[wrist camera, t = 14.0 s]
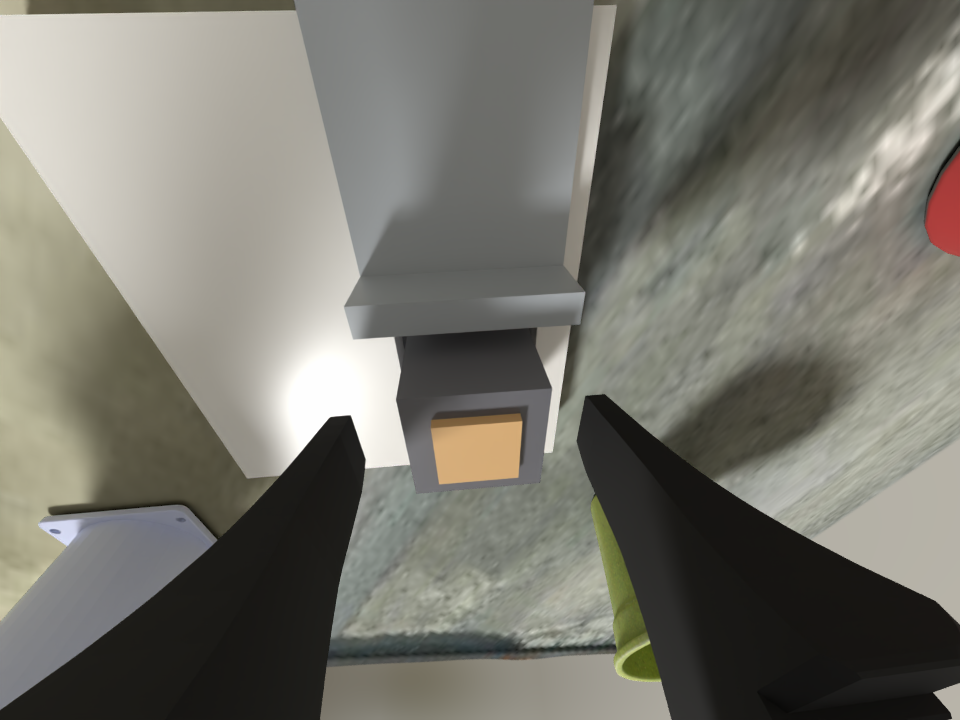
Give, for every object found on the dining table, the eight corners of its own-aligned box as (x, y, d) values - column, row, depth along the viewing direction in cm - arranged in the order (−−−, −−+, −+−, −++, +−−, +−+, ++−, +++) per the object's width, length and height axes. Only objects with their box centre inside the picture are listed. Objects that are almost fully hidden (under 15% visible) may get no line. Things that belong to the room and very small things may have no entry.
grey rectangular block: (510, 372, 16) (542, 491, 11) (425, 377, 16) (415, 502, 11) (513, 292, 14) (555, 396, 9) (413, 298, 13) (394, 407, 8)
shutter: (555, 287, 12) (579, 324, 10) (370, 298, 12) (353, 339, 9) (588, -22, 8) (645, -79, 5) (297, -18, 7) (234, -77, 5)
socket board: (543, 423, 19) (552, 452, 17) (265, 446, 18) (247, 478, 16) (588, 24, 10) (617, 5, 8) (25, 35, 9) (-70, 15, 7)
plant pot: (555, 475, 22) (607, 646, 15) (705, 435, 21) (840, 598, 14) (576, 542, 27) (622, 691, 20) (697, 513, 26) (790, 660, 19)
